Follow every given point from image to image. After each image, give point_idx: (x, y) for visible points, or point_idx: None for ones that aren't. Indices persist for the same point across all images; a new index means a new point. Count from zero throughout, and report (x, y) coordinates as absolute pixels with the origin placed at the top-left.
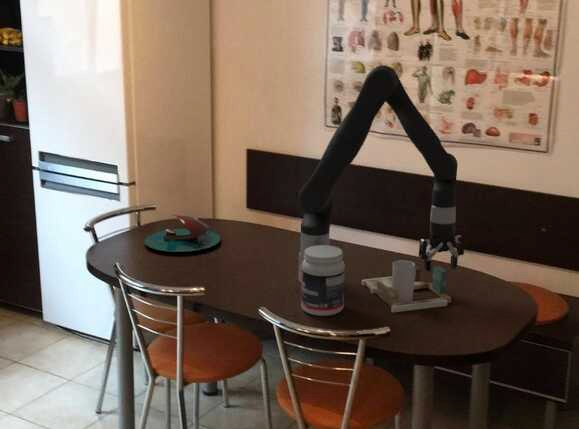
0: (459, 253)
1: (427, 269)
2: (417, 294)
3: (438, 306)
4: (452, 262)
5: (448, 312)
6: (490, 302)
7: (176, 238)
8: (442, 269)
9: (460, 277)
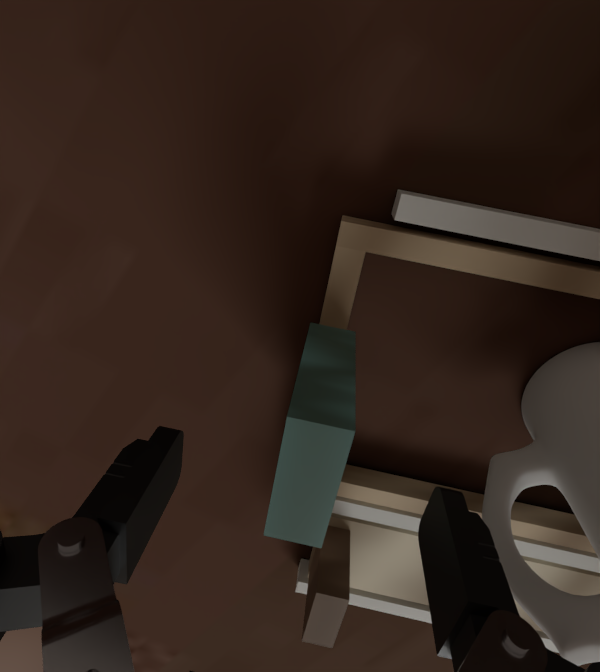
0: (6, 564)
1: (471, 518)
2: (426, 424)
3: (469, 203)
4: (156, 496)
5: (488, 66)
6: (71, 85)
7: None
8: (292, 468)
9: (64, 476)
